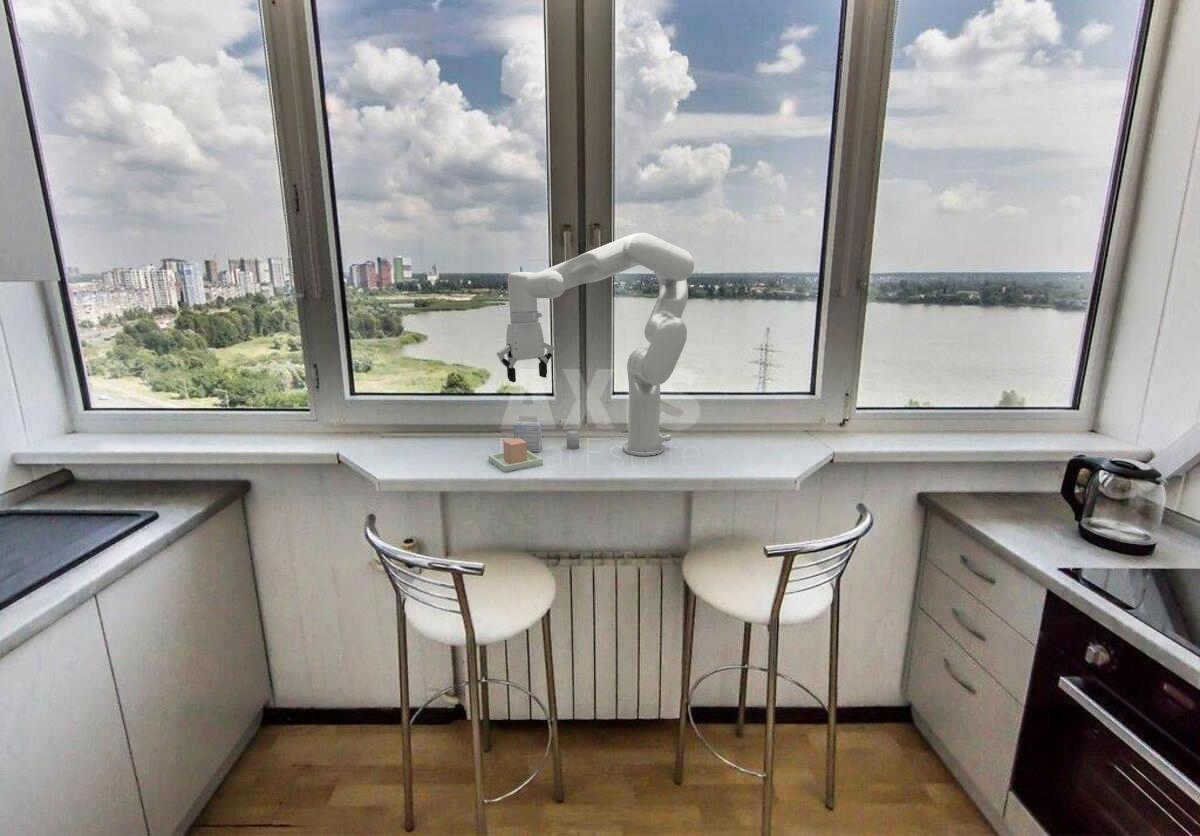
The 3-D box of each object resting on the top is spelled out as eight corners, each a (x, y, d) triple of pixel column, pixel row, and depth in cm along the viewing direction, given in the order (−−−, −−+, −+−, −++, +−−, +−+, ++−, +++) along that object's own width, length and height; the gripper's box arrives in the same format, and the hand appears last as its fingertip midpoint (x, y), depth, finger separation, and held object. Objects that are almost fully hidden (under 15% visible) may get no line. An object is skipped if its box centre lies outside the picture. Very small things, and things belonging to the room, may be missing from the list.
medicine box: (542, 448, 176) (541, 421, 174) (539, 453, 172) (538, 425, 169) (517, 447, 177) (516, 421, 174) (514, 452, 172) (513, 424, 170)
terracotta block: (519, 457, 165) (519, 438, 164) (527, 462, 161) (526, 442, 160) (504, 460, 163) (503, 440, 161) (511, 465, 159) (510, 445, 157)
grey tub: (575, 444, 180) (575, 429, 178) (581, 448, 176) (581, 432, 175) (564, 446, 177) (564, 431, 176) (570, 450, 174) (570, 434, 173)
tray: (524, 454, 170) (524, 448, 170) (542, 465, 161) (542, 459, 160) (488, 461, 164) (488, 455, 163) (505, 472, 154) (504, 466, 154)
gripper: (545, 315, 163) (548, 373, 167) (489, 319, 154) (494, 381, 158) (558, 316, 157) (561, 377, 161) (500, 321, 148) (505, 385, 152)
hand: (527, 379), depth 160 cm, fingers open, 9 cm apart
